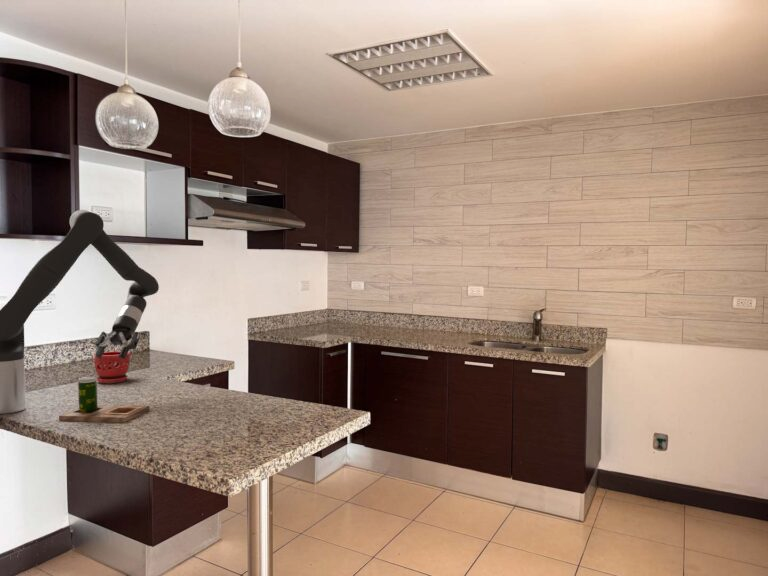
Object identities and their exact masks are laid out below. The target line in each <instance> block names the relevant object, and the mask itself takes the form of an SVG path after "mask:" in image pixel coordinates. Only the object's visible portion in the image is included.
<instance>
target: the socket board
mask: <svg viewBox="0 0 768 576" xmlns="http://www.w3.org/2000/svg"><path fill="white" fill-rule="evenodd" d="M149 411H150V406H149V405H133V404H132V405H127V404H99V403H98V410H97V411H95V412H93V413H79V407H78V408H75V409H72V410H70V411H67V412H65V413H63V414H60V415H58V421H67V422H68V421H69V422H70V421H71V422H95V423H96V422H98V423H99V422H101V423H124V422H125V423H127V422H129V421H131V420H132V418H133V419H135V418H137V417H139V416H141V415H143V414H145V413H147V412H149ZM130 419H131V420H130ZM126 421H127V422H126Z"/></svg>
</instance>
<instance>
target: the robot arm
mask: <svg viewBox="0 0 768 576" xmlns="http://www.w3.org/2000/svg"><path fill="white" fill-rule="evenodd" d="M69 225H70V230H69V231H68V232H67V234H66V235H65V237H64V238H63V239H62V240H61V241H60V242H59V243H58V244H57V245H56V246H54V247H53V248H51V249H50V250H49V251H47V252H46V253H44V255H42V257H40V259H39V260H38V261H36V263H35V265H34V266H33V267H32V268H31V270H30V271H29V272H28V273H27V275H26V276H25V278H24V279H23V280H22V282H21V284H19V287H18V288H17V290H16V292H15V293H14V294H13V296H12V297H10V299H9V300H8V302H6V304H4V306H2V307H1V308H0V414H11V413H17V412H21V411H24V410H26V409H27V405H26V404H27V403H26V400H27V399H26V398H27V397H26V394H27V393H26V377H25V376H26V374H25V369H26V368H25V324H26V321H27V320H28V318H29V317H30V315H31V314H32V313H33V311H34V310H35V309H36V308H37V306H39V304H41V303H42V302H43V301H44V300H45V299H46V298H47V297H48V296H49V295H51V293H52V292H53V291H54V289H56V288H57V287H58V285H59V284H60V283H61V282H62V280H63V279H64V278H65V276H66V275H67V273H68V272H69V271H70V270H71V268H72V267H73V266H74V265H75V263H76V261H77V260H79V257H80V256H81V254H83V252H84V251H86V249H87V248H88V247H90V245H92V247H93V248H94V249H96V251H98V252H99V254H100V255H101V256H102V257H103V258H104V259H105V260H106V261H107V263H108V264H109V265H110V266H111V267H112V268H113V270H114V271H116V273H117V274H118V275H119V276H120V277H121V278H122V279H123V280H125V281H132V282H131V284H130V285H129V287H128V290H127V298H126V301H125V303H124V305H123V307H122V308H121V310H120V311H119V313H118V315H117V317H116V319H115V321H114V323H113V324H112V328H111V331H110V332H109V333H106V332H105V331H102V332H101V333H100V335H99V336H98V338H97V340H96V341H95V343H94V345H95V347H96V348H97V350H96V352H95V354H96V357H97V358H98V359H101V357H102V355H103V353H104V352H106V350H107V349H109V348H112V347H113V346H118V345H119V346H123V347H122V348H121V349H120V351H119V352H120V354H119V357H120V359H124V358H125V357H126V355H127V353H128V352H129V351H131V350H136V348H137V346H138V344H139V341H140V338H141V335H140V334H139V332H138V331H136V330H137V328H138V326H139V325H140V322H141V319H142V316H143V315H144V312H145V310H146V307H147V304H148V302H147V300H146V299H145V297H148V296H153V295H156V294H157V293H158V292H159V290H160V289H159V288H160V285H159V283H158V280H157V279H156V278H155V277H154V276H153V274H151V273H149V272H148V271H146V270H144V269H143V268H142V267H140V266H139V265H138V264H137V263H136V262H135V261H134V259H132V257H131V256H130V255H129V254H128V253H126V251H125V250H124V249H122V248H121V247H120V246H119V245H118V244H117V243H116V242H115V241H114V240H113V239H111V237H110V236H109V234H107V233H106V231H105V230H104V225H105V224H104V220H103V218H102V217H101V216H100V215H99V214H98V213H96V212H94V211H92V210H87V209H79V210H76V211H74V212H73V213H72V214H71V216H70V218H69ZM109 341H110V342H109ZM129 341H130V342H129Z"/></svg>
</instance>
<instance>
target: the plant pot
mask: <svg viewBox="0 0 768 576" xmlns="http://www.w3.org/2000/svg"><path fill="white" fill-rule="evenodd" d="M120 352H121V351H105V352H104V353H103V355H102V357H101V359H98V358H97V357H96V353H95V354H94V357H93V358H94V368H95V371H96V374H97V375H98V376H97V377H96V380H97V383H100V384H107V383H110V384H116V383H117V382H118V383H121V382H124V381H127V379H128V377H129V376H128V375H127V373H128V371H129V366H130V360H131V358H130V357H131V356H130V352H129V351H128V353H127V355H126V357H125V358H124V359H120V357H119V354H120ZM115 363H116V364H115ZM118 383H117V384H118Z"/></svg>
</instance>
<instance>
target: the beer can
mask: <svg viewBox="0 0 768 576" xmlns="http://www.w3.org/2000/svg"><path fill="white" fill-rule="evenodd" d="M77 390H78V392H77V393H78V394H77V395H78V408H79V413H93V412H95V411H97V410H98V404H99V402H98V381H97V377H96V376H83V377H79V378H78V382H77Z"/></svg>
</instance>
